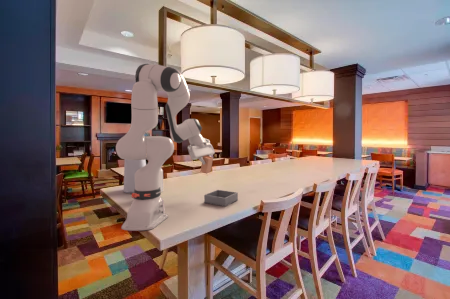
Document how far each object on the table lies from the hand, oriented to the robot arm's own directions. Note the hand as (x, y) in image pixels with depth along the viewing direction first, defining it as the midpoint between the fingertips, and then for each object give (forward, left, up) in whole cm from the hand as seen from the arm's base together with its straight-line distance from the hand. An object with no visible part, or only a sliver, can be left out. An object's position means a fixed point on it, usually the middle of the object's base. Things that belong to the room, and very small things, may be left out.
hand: (207, 163), depth 142 cm
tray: (-7, -8, -22) cm, 24 cm away
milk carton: (+15, +38, -22) cm, 46 cm away
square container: (+1, +2, -6) cm, 6 cm away
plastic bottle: (+20, +53, -22) cm, 61 cm away
